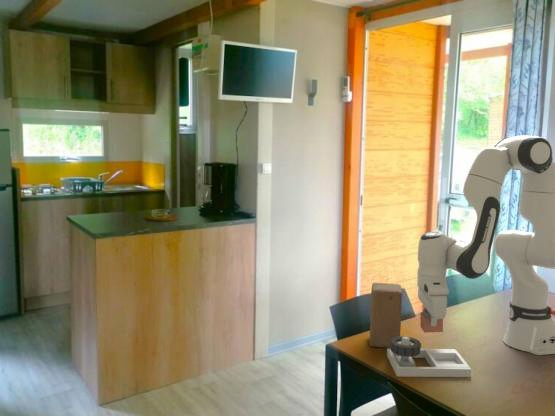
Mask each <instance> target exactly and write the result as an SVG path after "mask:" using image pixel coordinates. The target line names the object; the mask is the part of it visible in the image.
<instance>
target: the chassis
mask: <svg viewBox="0 0 555 416" xmlns="http://www.w3.org/2000/svg"><path fill="white" fill-rule="evenodd" d="M409 337H410V336H406V337H402V345H405V346H410V338H409ZM386 356H387V357H386V358H387V359H388V361H389V364H390V365H391V367H392V369H393V372H394V374H395V375H396V377H403V378H404V377H405V378H407V377H413V378H414V377H415V378H416V377H419V378H425V377H426V378H430V377H431V378H432V377H435V378H471V377H472V368H471V366H470V365H469V364H468V363H467V362H466V360H465V359H464V358H463V356H462V355H461V354H460V353H459V352H458V350H457V349H456V348H454V349H453V348H450V349H449V348H421V350H420V354H419V355H417V356H412V357H405V356H400V355H398V354H395V353H393V352H392V351H391V349H390V348H386ZM414 359H425V360H426V361H427V363H428V365H429V366H416V363H415V361H414Z"/></svg>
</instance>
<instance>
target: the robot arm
mask: <svg viewBox="0 0 555 416" xmlns="http://www.w3.org/2000/svg"><path fill="white" fill-rule="evenodd" d="M553 158H554V157H553V148H552V146H551V143H550V142H549V141H548V139H546V138H544V137H541V136H539V135H538V136H537V135H517V136H512V137H504V138H502V139H500V140H498V141H496V143H494V145H492V146H486V147H484V148H482V149H481V150H480V151H479V153H478V154H477V156H476V157H475V159H474V161H473V163H472V164H471V166H470V169H469V171H468V173H467V176H466V179H465V181H464V183H463V190H462V192H463V195H464V199H465V200H466V201H467V203H468V204H469V205H470V206H471V207H472V208H473V210H474V211H475V212H476V223H475V226H474V230H473V233H472V238H471V241H470V243H467V242H464V241H462V240H459V239H456V238H452V237H450V236H448V235H446V234H445V233H444V232H443V231H427V232H425V233H423V234H422V235H421V236H420V238H419V241H418V248H417V262H418V269H417V278H416V279H417V281H416V282H417V283H416V286H417V288H418V289H417V298H418V300H419V301H420V302H421V304H422V306H423V310H428V312H429V313H430V314H431V320H430V325H431V326H436V325H437V319H443V320H444V319H445V318H446V316H447V307H448V297H447V295H449V293H450V289H449V286H448V284H447V278H446V276H447V275H446V274H447V270H448V269H451V270H453V271H455V272H457V273H459V274H460V275H462V276H464V277H465V278H466V279H470V280H475V279H478V278H481V276H483V275H484V274H485V273H486V272H487V271H488V269H489V266H490V263H491V253H492V252H491V250H492V245H493V249H494V252H495V254H496V256H497V257H498V258H500V260H502V262H503V263H504V265H505V266H506V268H507V270H508V273H509V275H510V279H511V299H510V302H509V305H508V306H509V307H508V323H507V328H506V330H505V334H504V337H503V338H502V341H503V343H504V344H505V345H507V346H509V347H512V348H514V349H516V350H519V351H524V352H528V353H530V354H533V355H537V356H543V355H555V318H554V317H555V308H552V307H550V306H548V297H549V286H548V283H547V280H546V279H544V277H542V276H540V275H539V273H537V272H536V271H535V269H534V266H535V267H539V268H545V269H551V270H552V269H553V270H554V269H555V161H553ZM511 170H513V171H520V174H521V179H522V180H521V186H520V187H521V188H520V195H519V197H520V198H519V205H518V206H519V207H518V213H519V214H520V216H521V217H522V218H523V219H524V220H525V221H527V222H529V223H530V224H531V226H532V227H533V230H534V231H533V232H532V231H525V230H524V231H523V230H519V229H512V230H511V229H508V230H502V231H500V232H499V233H498V234H497V235H496V236H495V234H496V230H497V226H498V222H499V218H500V212H501V203H500V193H501V189H502V186H503V184H504V182H505V178H506V175H507V174H508V173H509V172H510V171H511ZM494 237H495V238H494ZM552 316H554V317H552Z"/></svg>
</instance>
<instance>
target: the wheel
mask: <svg viewBox="0 0 555 416" xmlns="http://www.w3.org/2000/svg"><path fill="white" fill-rule="evenodd" d="M402 337H407V336H401V335H400V336H399V337H394V338H392V339H391V347H390V348H389V349H391V351H392V352H393V353H395V354H398V355H400V356H405V357H412V356H417V355H419V354H420V350H421V349H422V345H421V344H422V343H421V342H420V340H418V338H413V337H411V336H408V337H409V338H410V346H405V345H402Z"/></svg>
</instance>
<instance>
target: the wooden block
mask: <svg viewBox="0 0 555 416" xmlns="http://www.w3.org/2000/svg"><path fill="white" fill-rule="evenodd" d="M370 296H371V297H370V320H369V323H370V324H369V346H371V347H372V348H373V347H375V348H386V349H390V347H391V339H392V338H394V337H399V336H401V330H402V329H401V326H402V325H401V323H402V301H403V291H402V285H401V284H399V283H383V282H373V283H372V285H371V292H370Z"/></svg>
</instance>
